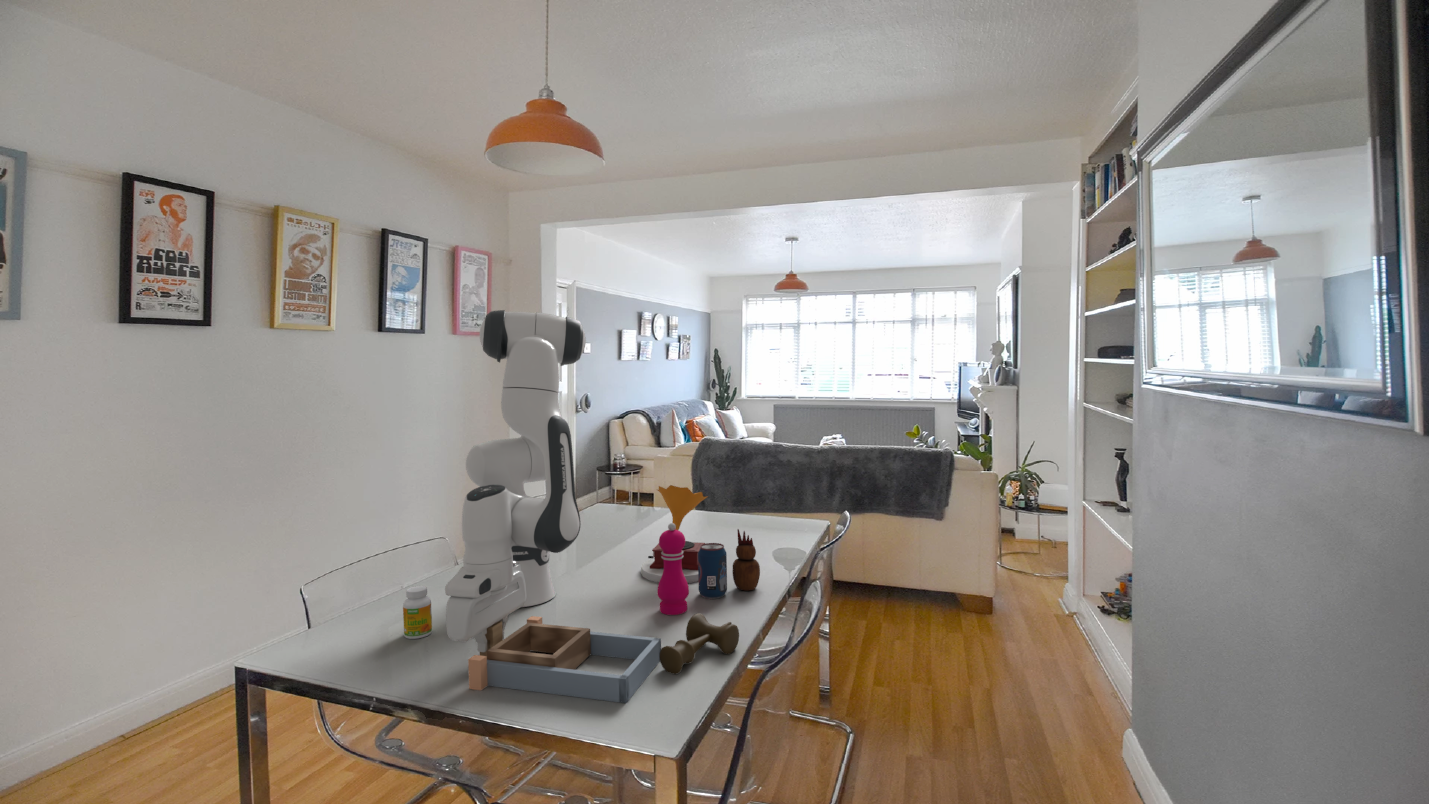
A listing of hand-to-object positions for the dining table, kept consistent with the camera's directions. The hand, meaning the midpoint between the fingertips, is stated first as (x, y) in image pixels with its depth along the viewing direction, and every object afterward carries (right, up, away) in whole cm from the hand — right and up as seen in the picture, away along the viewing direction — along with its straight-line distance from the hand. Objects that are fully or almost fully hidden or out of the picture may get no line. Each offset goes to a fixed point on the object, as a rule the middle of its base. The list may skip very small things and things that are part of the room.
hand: (491, 645), depth 122 cm
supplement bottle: (-20, -3, +14) cm, 25 cm away
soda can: (+42, -1, +35) cm, 55 cm away
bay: (+16, -3, -4) cm, 17 cm away
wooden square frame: (+8, -3, -2) cm, 8 cm away
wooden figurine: (+50, -1, +39) cm, 64 cm away
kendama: (+40, -3, +2) cm, 40 cm away
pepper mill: (+33, -2, +25) cm, 42 cm away
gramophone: (+32, -1, +54) cm, 63 cm away
